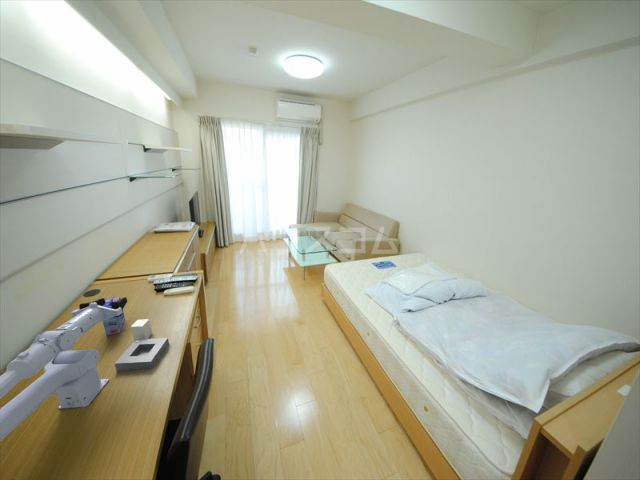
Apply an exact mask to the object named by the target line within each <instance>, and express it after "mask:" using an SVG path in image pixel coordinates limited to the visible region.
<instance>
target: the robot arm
mask: <svg viewBox="0 0 640 480" xmlns="http://www.w3.org/2000/svg"><path fill="white" fill-rule="evenodd" d="M105 300H106V299H105V298H104V297H102V298H99V299H96V300H94V301H89V302H85V303H84V302H83V303H80V304H79V305H78V307H79V309H78V308H76V309H73V311H71V312H70V314H71V318H70V319H69V320H67V321H65V322H64V323H62V324H61V325H59V326H58V327H57V328H54V330H46V331H43V332H41V333H38V334H37V335H36V337H35V338H34V341H33V342H32V344H31V345H29V347H28V348H27V349H26V350H25V351H22V352H20V353H19V354H17V355H16V358H14V359H13V360H11V361H10V362H9V363H8V364H7V365H6V370H5V372H4V373H3V374H1V375H0V400H1V399H2V398H3V397H4V396H6V394H8V393H9V391H11V389H13V388H14V387H15V386H16V385H18V383H19V382H20V381H21V380H24V379H29V378H31V377H33V376H35V375H36V374H37V373H38V372H39V371H40V370H41V369H43V374H41V376H39V377H38V378H37V379H35V380H34V381H33V382H32V383H31V384H29V385H28V386H27V387H25V388H24V389H23V390H22V391H20V393H18V394H17V395H16V396H15V397H13V398H12V399H11V400H9V401H8V402H7V403H6V404H5V405H4V406H2V407H1V408H0V443H1V442H2V441H3V440H4V439H5V438H6V437H7V436H9V435H10V434H11V433H12V432H13V431H14V430H15V429H16V428H17V427H18V426H19V425H20V424H21V423H22V422H24V421H25V420H26V419H27V418H28V417H30V416H31V414H33V413H34V411H36V409H38V408H39V407H40V406H42V404H43V403H44V402H46V401H47V400H48V399H49V398H50V397H51V396H52V395H53V394H55V396H56V398H57V401H58V403H59V405H58V409H72V408H73V409H74V408H86V407H87V406H89V405H90V404H91V403H92V402H93V400H94V399H95V398H96V396H97V395H98V394H99V393H100V391H102V389H103V388H105V386H106V385H107V383H108V382H109V378H101V377H100V374H99V372H98V368H97V365H98V363H99V360H100V358H101V357H100V356H101V355H100V352H99V350H98V349H96V348H91V349H79V350H78V349H74V350H73V348H74V346H75V345H76V343H77V341H78V340H79V339H80V338H81V337H82V336H83V335H84V334H86V333H87V332H88V331H89V330H91V329H92V328H94V326H96V325H98V324H99V323H100V322H102V321H103V320H106V319H108V318H111V317H120V316H121V315H122V313H123V312H124V308H125V306H126V304H127V303H128V298H127V297H122V298H120V300H118V301H116V302H111V306H112V307H111V308H107V307H103V305H104V304H105ZM122 311H123V312H122Z"/></svg>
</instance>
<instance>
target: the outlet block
mask: <svg viewBox="0 0 640 480" xmlns="http://www.w3.org/2000/svg"><path fill="white" fill-rule="evenodd" d="M169 345H170V342H169V338H168V337H157V338H148V339H136V340H135V341H133V342H132V343H131V344H130V345H129V346H128V348H127V349H126V350H125V351H124V352H123V353H122V354H121V356H120V357H119V358H118V359H117V360H116V361H115V362H114V367H115V369H116V371H122V370H123V371H124V370H126V371H127V370H142V369H145V370H146V369H153V368H154V366H156V364H157V362H159V360H160V358H161V356H162V355H163V354H164V352H165V351H166V349H167V348H168V346H169Z"/></svg>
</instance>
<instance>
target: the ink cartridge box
mask: <svg viewBox="0 0 640 480" xmlns="http://www.w3.org/2000/svg"><path fill="white" fill-rule="evenodd" d="M120 299H121V297H115V296H112V298H108V299H105V304H104V305H103V307H107V308H111V307H112V306H111V302H116V301H118V300H120ZM122 312H123V313H122V315H121V316H120V317H111V318H108V319H106V320H103V321H101V322H102V324H103V327H104V332H105V336H109V335H115V334H119V333H122V332H123V328H124V326H125V323H126V318H125V313H124V310H123V311H122Z"/></svg>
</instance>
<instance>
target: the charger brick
mask: <svg viewBox="0 0 640 480" xmlns="http://www.w3.org/2000/svg"><path fill="white" fill-rule="evenodd" d="M151 326H152V325H151V322H150V319H148V318H147V319H145V318H143V319H136V321H135V322H134V323H132V324H131V326H130V329H131V330H130V331H131V333H132V336H133V337H132V338H133V340H134V341H135V340H136V339H150V336H151V335H152V334H153V330H152V327H151ZM134 341H133V342H134Z"/></svg>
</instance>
